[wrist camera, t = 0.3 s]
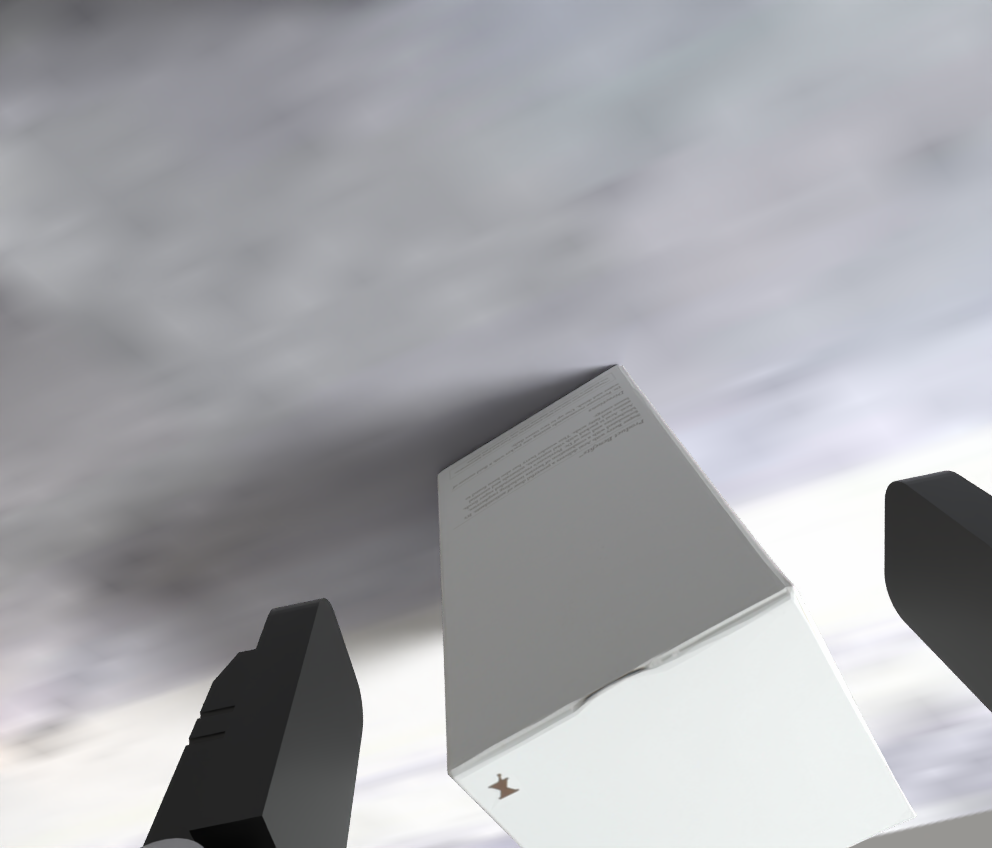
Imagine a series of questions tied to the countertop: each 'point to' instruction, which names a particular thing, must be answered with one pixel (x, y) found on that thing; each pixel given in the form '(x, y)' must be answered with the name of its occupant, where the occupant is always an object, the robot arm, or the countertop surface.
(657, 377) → the countertop surface
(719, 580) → the supplement box
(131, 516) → the countertop surface
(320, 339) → the countertop surface
